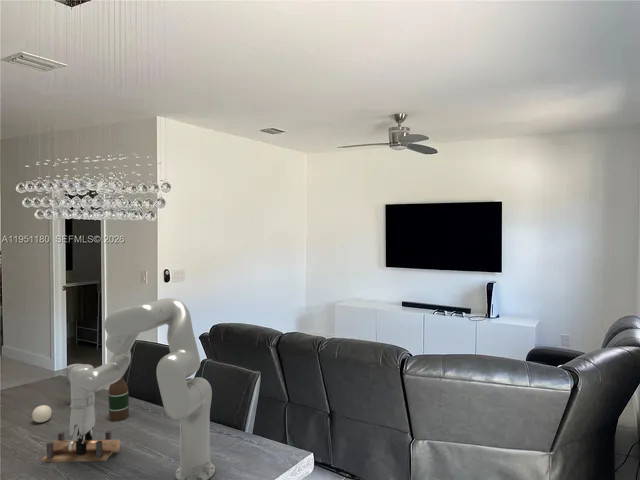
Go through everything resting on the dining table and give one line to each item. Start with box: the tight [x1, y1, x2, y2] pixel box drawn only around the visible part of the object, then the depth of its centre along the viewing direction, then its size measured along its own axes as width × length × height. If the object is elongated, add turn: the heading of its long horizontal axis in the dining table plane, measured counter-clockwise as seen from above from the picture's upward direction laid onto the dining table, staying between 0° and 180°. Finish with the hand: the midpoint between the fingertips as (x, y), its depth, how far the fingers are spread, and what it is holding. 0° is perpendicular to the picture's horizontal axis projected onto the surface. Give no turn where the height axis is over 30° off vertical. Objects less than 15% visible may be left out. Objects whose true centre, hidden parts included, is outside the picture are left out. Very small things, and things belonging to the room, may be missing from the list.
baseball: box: [31, 404, 53, 423], centre depth 192 cm, size 7×7×7 cm
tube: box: [49, 439, 121, 453], centre depth 165 cm, size 24×4×4 cm, turn 92°
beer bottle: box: [108, 375, 130, 422], centre depth 195 cm, size 8×8×24 cm
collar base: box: [41, 430, 114, 463], centre depth 165 cm, size 22×9×6 cm, turn 92°
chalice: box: [66, 363, 84, 408], centre depth 209 cm, size 7×7×18 cm
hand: (84, 450), depth 165 cm, fingers closed on tube, 4 cm apart
